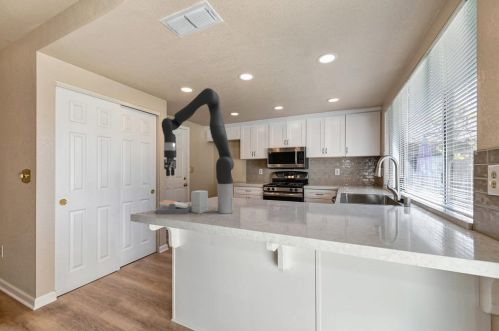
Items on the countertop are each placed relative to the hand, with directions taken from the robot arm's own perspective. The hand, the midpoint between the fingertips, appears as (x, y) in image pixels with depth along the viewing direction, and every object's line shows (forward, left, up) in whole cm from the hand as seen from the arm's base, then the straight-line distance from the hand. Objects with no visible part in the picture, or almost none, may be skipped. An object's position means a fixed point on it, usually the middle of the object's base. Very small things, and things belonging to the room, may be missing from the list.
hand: (170, 175), depth 138 cm
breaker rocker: (-5, +6, -17) cm, 19 cm away
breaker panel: (-5, +6, -22) cm, 23 cm away
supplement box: (-20, +6, -22) cm, 30 cm away
